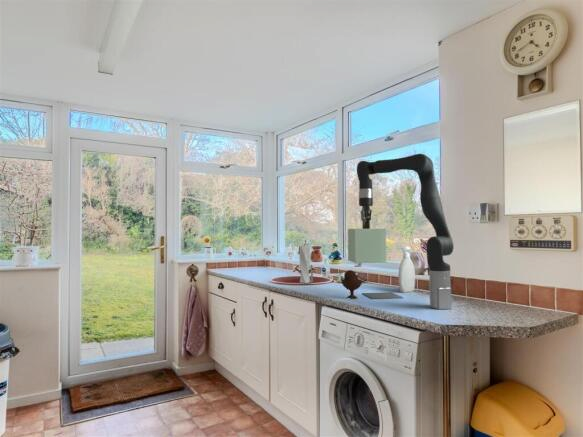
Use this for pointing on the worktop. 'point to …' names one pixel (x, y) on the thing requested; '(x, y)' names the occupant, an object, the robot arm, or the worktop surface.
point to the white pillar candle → (305, 264)
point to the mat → (382, 295)
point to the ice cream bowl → (351, 283)
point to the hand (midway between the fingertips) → (366, 228)
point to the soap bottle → (406, 273)
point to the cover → (367, 245)
